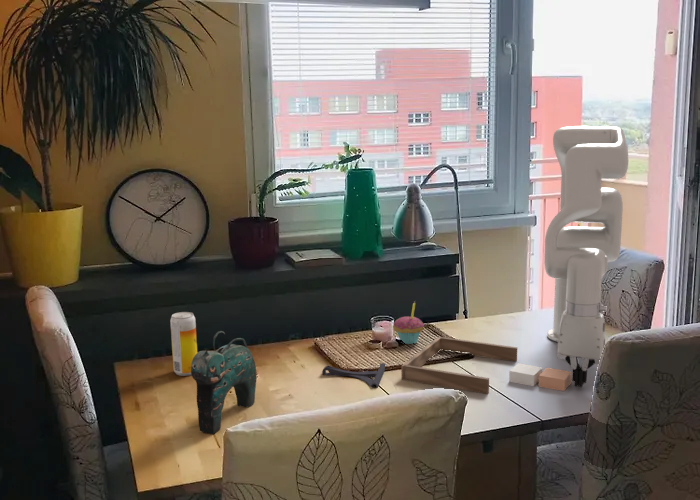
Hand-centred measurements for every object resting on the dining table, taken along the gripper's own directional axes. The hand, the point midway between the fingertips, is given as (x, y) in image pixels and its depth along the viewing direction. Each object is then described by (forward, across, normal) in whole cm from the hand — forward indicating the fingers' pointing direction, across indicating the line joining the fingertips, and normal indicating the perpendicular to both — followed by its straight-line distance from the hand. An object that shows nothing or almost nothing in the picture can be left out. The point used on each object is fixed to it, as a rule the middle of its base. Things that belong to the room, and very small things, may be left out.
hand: (579, 384), depth 175 cm
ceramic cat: (+1, +65, +49) cm, 81 cm away
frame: (+1, +28, 0) cm, 29 cm away
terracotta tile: (+1, +6, 0) cm, 6 cm away
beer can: (+1, +91, +30) cm, 96 cm away
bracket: (+2, +52, +15) cm, 54 cm away
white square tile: (+1, +12, 0) cm, 13 cm away
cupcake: (+1, +49, -15) cm, 52 cm away
